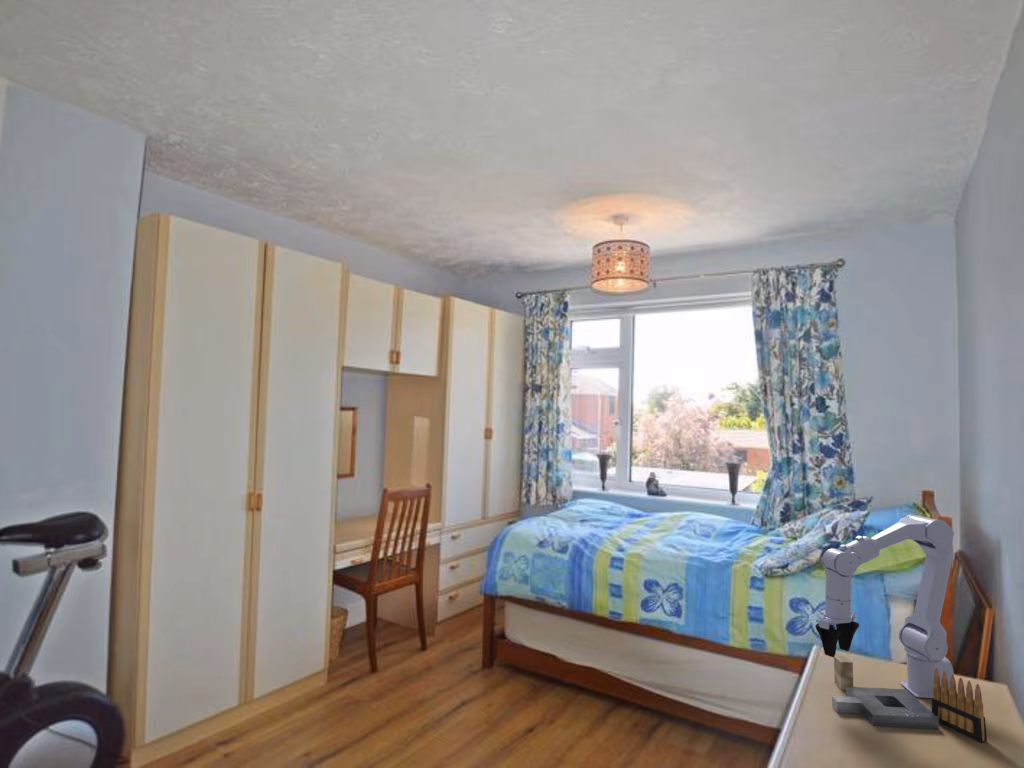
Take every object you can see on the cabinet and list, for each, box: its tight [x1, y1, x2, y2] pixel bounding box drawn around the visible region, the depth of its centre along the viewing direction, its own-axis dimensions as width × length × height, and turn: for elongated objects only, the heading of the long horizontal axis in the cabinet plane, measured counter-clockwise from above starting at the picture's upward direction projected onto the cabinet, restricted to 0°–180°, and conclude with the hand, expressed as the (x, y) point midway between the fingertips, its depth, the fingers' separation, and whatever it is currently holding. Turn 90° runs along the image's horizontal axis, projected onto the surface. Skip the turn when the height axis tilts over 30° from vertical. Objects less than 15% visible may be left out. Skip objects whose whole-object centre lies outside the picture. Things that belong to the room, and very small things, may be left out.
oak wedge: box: [833, 655, 854, 691], centre depth 156 cm, size 3×4×7 cm
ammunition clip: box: [931, 668, 988, 744], centre depth 135 cm, size 11×2×12 cm, turn 22°
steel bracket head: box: [831, 686, 940, 730], centre depth 143 cm, size 20×14×2 cm
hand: (837, 652), depth 152 cm, fingers open, 7 cm apart
